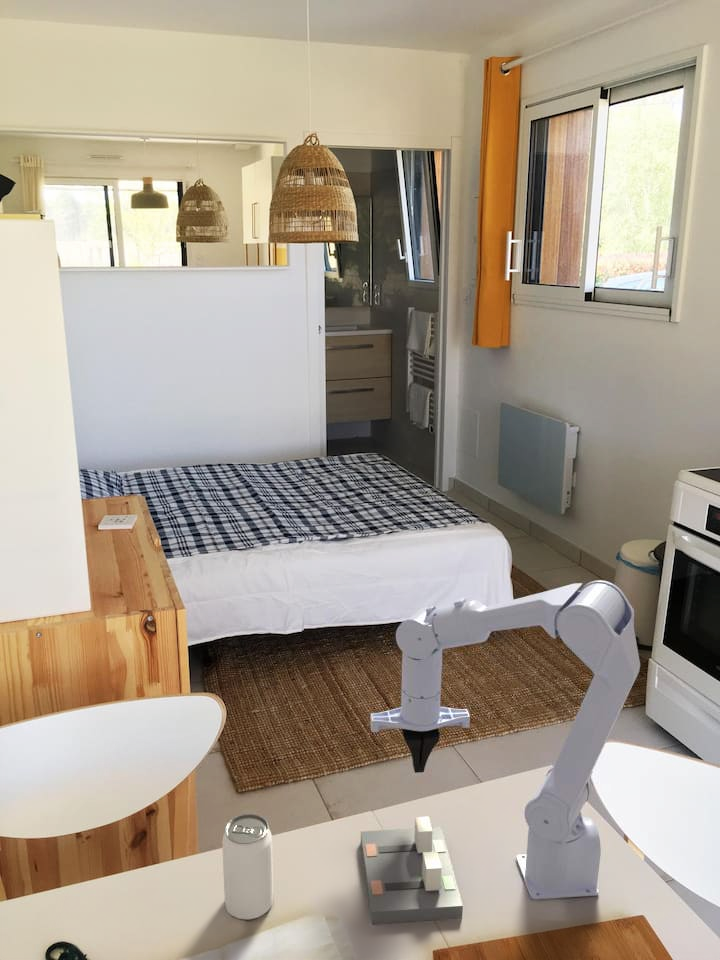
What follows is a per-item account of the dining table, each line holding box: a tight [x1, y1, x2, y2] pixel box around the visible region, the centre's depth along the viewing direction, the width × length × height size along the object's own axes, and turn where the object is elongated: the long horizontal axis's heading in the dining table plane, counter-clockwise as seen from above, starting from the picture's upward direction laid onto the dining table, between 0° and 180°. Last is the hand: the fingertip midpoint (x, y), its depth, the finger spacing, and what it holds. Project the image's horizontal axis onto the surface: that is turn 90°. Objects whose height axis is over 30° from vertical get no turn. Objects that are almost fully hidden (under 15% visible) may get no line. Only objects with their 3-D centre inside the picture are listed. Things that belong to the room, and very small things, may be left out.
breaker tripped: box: [414, 816, 432, 853], centre depth 117 cm, size 2×3×4 cm, turn 6°
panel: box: [360, 826, 464, 925], centre depth 115 cm, size 12×15×2 cm
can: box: [221, 813, 274, 921], centre depth 109 cm, size 6×6×12 cm
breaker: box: [422, 852, 442, 891], centre depth 110 cm, size 2×3×4 cm, turn 5°
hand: (418, 768), depth 123 cm, fingers closed
